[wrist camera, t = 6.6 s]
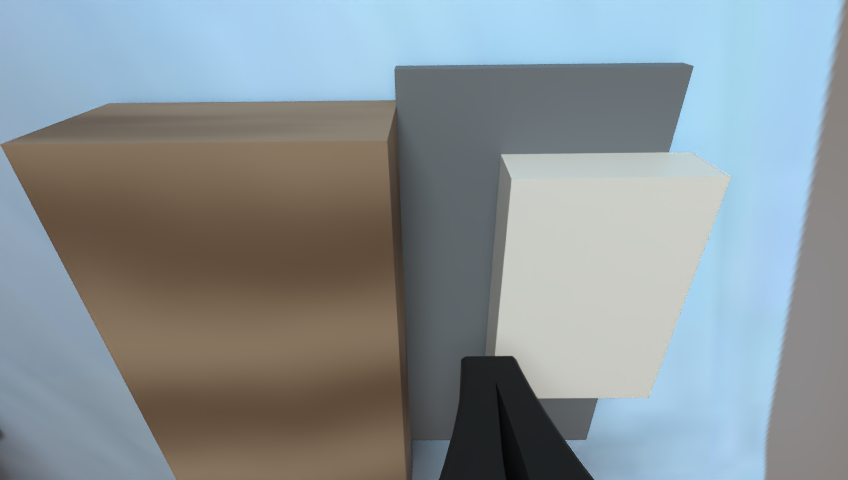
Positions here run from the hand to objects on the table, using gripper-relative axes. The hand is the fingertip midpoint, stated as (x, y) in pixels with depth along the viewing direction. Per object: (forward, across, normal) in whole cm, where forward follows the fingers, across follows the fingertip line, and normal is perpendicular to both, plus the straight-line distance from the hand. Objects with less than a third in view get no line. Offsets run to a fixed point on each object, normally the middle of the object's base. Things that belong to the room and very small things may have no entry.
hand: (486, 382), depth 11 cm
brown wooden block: (+6, +7, +4) cm, 10 cm away
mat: (+6, -2, +2) cm, 6 cm away
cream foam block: (+4, -4, 0) cm, 6 cm away
